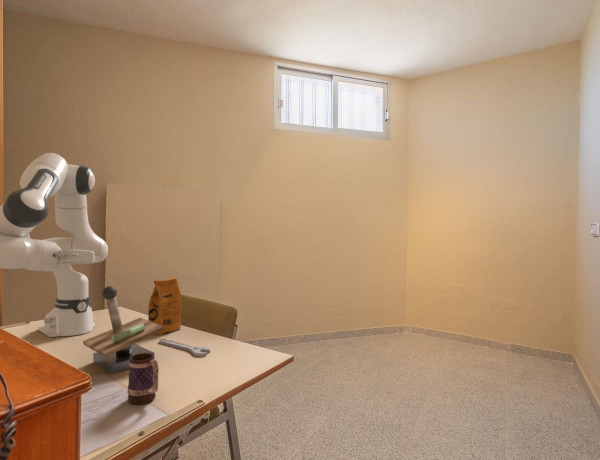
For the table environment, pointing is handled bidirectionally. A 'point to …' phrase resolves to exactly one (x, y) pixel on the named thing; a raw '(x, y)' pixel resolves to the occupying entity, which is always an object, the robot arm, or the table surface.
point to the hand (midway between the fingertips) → (89, 260)
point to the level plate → (108, 343)
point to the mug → (142, 378)
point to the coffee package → (165, 305)
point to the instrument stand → (119, 358)
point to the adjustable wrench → (187, 347)
